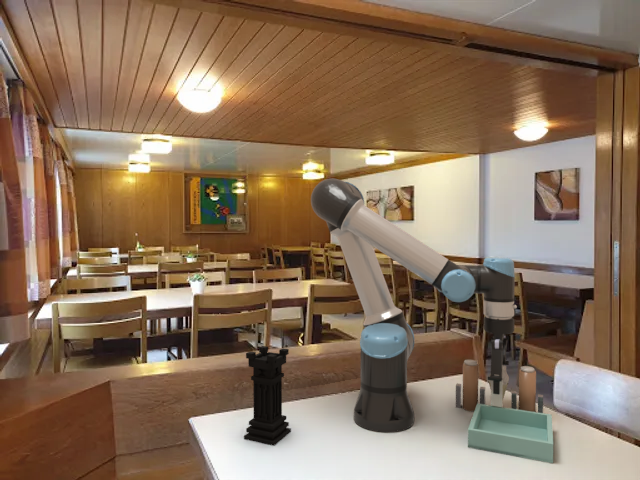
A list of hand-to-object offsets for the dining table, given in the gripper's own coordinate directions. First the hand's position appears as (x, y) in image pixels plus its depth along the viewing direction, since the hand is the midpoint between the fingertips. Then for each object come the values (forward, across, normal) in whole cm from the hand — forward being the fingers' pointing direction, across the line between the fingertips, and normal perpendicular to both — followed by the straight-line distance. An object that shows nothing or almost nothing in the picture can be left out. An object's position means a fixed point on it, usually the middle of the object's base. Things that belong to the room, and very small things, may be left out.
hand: (498, 397), depth 124 cm
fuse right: (+4, 0, -7) cm, 8 cm away
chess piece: (+4, -37, +48) cm, 61 cm away
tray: (+4, -15, -4) cm, 16 cm away
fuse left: (+4, 0, +7) cm, 8 cm away
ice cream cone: (+4, 0, 0) cm, 4 cm away
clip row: (+4, 0, 0) cm, 4 cm away
